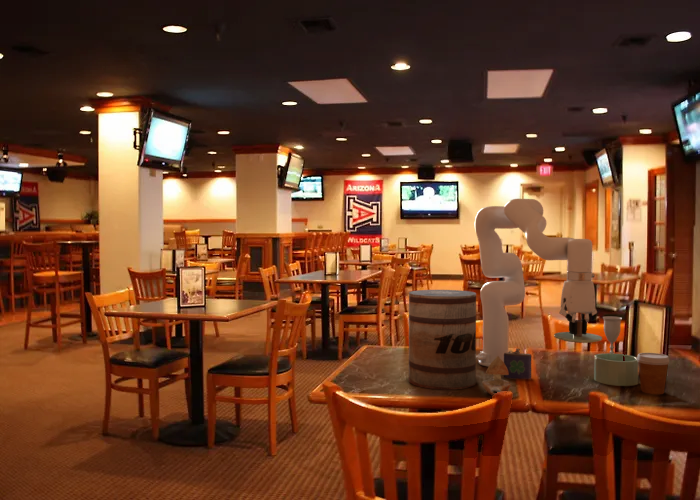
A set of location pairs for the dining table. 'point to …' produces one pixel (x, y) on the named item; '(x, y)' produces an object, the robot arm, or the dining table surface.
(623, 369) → the canister
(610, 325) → the chalice
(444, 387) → the barrel
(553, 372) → the dining table surface
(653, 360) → the disposable coffee cup
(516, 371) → the flask
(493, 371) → the oil lamp
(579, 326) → the lid
